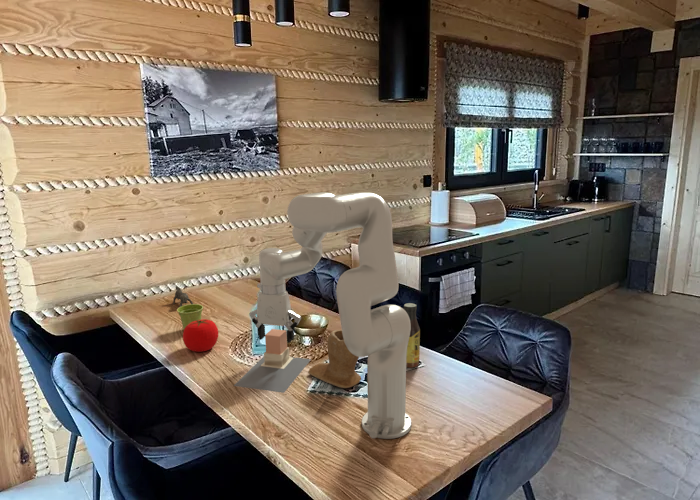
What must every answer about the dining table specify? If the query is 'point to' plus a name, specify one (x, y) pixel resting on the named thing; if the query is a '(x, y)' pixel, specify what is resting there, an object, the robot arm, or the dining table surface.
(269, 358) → the birch block
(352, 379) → the tan boot
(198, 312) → the plant pot
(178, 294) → the dog figurine
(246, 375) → the build board
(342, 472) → the dining table surface
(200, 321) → the tomato
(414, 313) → the sauce bottle
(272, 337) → the terracotta block
